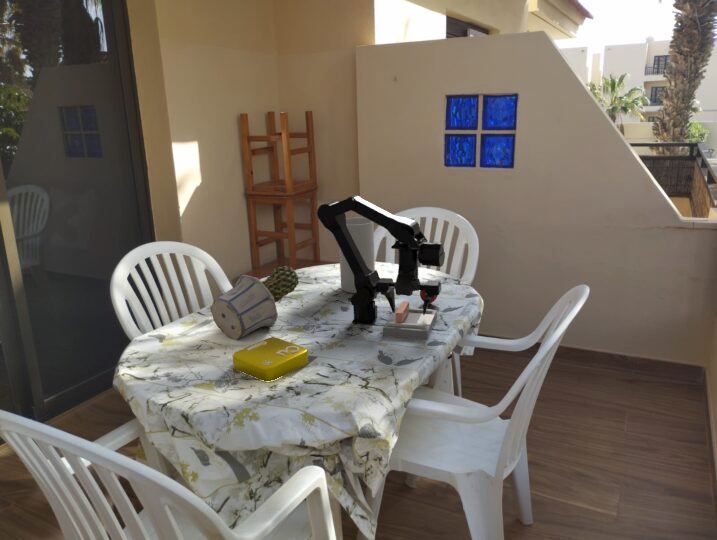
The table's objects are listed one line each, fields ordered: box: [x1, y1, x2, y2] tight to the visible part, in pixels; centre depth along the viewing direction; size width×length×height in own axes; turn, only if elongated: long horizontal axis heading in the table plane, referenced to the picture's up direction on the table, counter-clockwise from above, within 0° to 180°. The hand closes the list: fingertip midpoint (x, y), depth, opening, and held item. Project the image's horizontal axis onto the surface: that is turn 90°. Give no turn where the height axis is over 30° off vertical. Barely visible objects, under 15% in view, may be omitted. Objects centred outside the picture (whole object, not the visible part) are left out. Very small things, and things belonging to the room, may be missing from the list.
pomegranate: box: [419, 290, 438, 305], centre depth 189 cm, size 6×6×8 cm
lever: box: [396, 300, 410, 322], centre depth 172 cm, size 2×10×3 cm, turn 163°
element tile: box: [232, 336, 309, 381], centre depth 150 cm, size 15×15×5 cm
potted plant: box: [210, 265, 300, 340], centre depth 175 cm, size 18×18×30 cm
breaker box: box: [382, 306, 438, 340], centre depth 172 cm, size 13×17×3 cm
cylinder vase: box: [338, 217, 376, 294], centre depth 205 cm, size 12×12×25 cm
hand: (408, 313), depth 171 cm, fingers open, 9 cm apart
